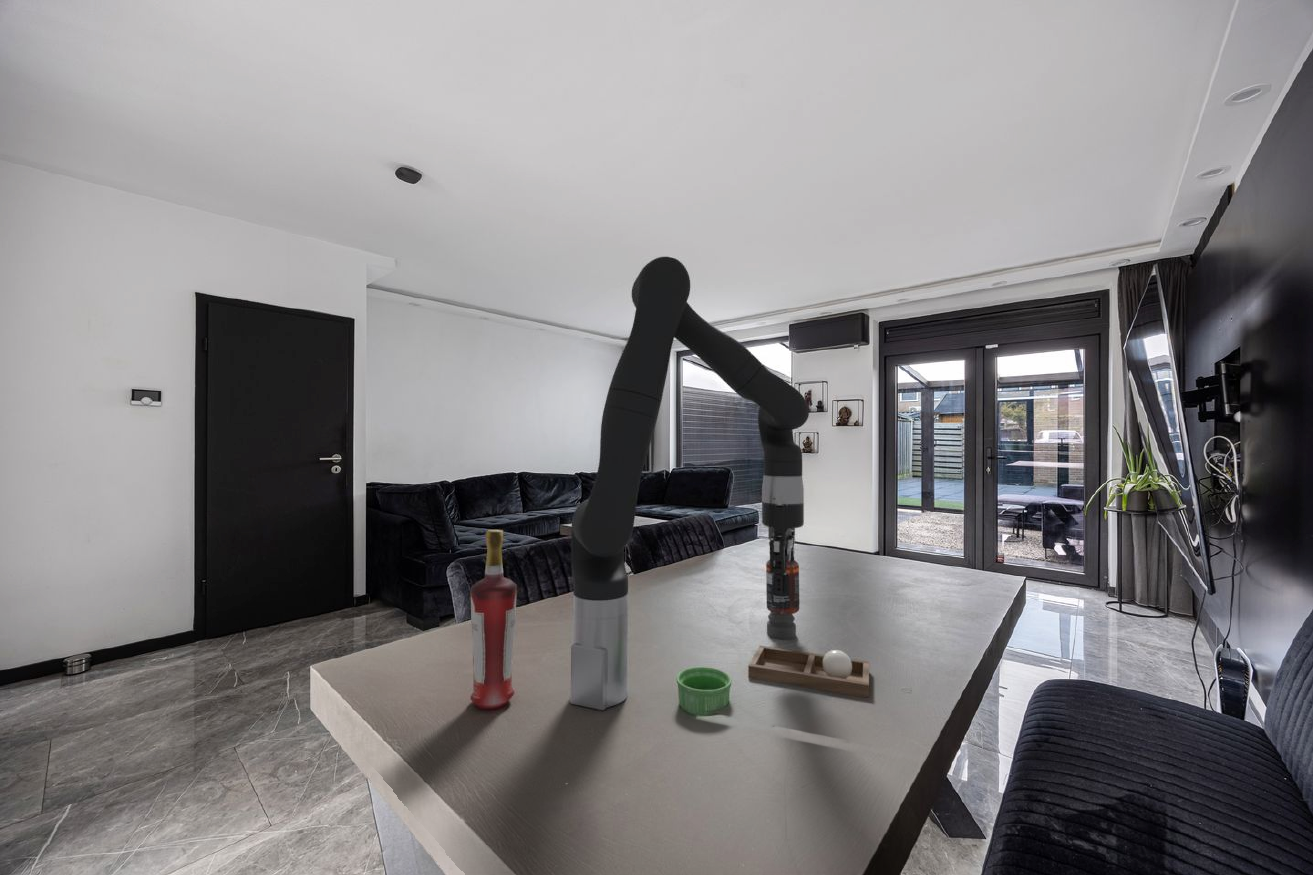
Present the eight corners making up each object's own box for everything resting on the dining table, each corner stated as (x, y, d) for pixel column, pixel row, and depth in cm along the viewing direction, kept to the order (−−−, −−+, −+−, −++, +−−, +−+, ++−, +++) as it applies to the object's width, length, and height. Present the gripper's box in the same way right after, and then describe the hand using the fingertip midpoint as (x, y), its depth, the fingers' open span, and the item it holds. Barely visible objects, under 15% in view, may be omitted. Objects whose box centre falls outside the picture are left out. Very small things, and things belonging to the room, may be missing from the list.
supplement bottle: (796, 606, 101) (796, 546, 101) (802, 616, 95) (802, 552, 95) (764, 605, 101) (764, 545, 102) (768, 614, 96) (768, 551, 96)
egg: (851, 687, 91) (851, 658, 91) (821, 682, 93) (821, 653, 93) (852, 675, 96) (852, 647, 96) (823, 671, 98) (823, 643, 98)
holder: (868, 703, 88) (868, 685, 88) (748, 682, 95) (748, 665, 95) (869, 677, 97) (869, 661, 97) (759, 660, 105) (759, 645, 105)
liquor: (468, 696, 89) (470, 528, 90) (513, 689, 92) (515, 526, 92) (469, 717, 82) (471, 535, 83) (518, 709, 85) (520, 533, 85)
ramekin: (686, 722, 81) (686, 693, 82) (669, 695, 90) (669, 669, 90) (740, 714, 84) (740, 686, 84) (718, 689, 93) (719, 664, 93)
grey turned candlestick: (788, 646, 112) (789, 527, 113) (762, 639, 116) (762, 525, 117) (800, 638, 117) (800, 524, 118) (774, 632, 121) (774, 522, 122)
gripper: (769, 496, 107) (769, 580, 106) (754, 503, 93) (754, 599, 93) (808, 497, 104) (808, 584, 103) (798, 505, 90) (798, 604, 90)
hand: (782, 590), depth 98 cm, fingers closed on supplement bottle, 6 cm apart
